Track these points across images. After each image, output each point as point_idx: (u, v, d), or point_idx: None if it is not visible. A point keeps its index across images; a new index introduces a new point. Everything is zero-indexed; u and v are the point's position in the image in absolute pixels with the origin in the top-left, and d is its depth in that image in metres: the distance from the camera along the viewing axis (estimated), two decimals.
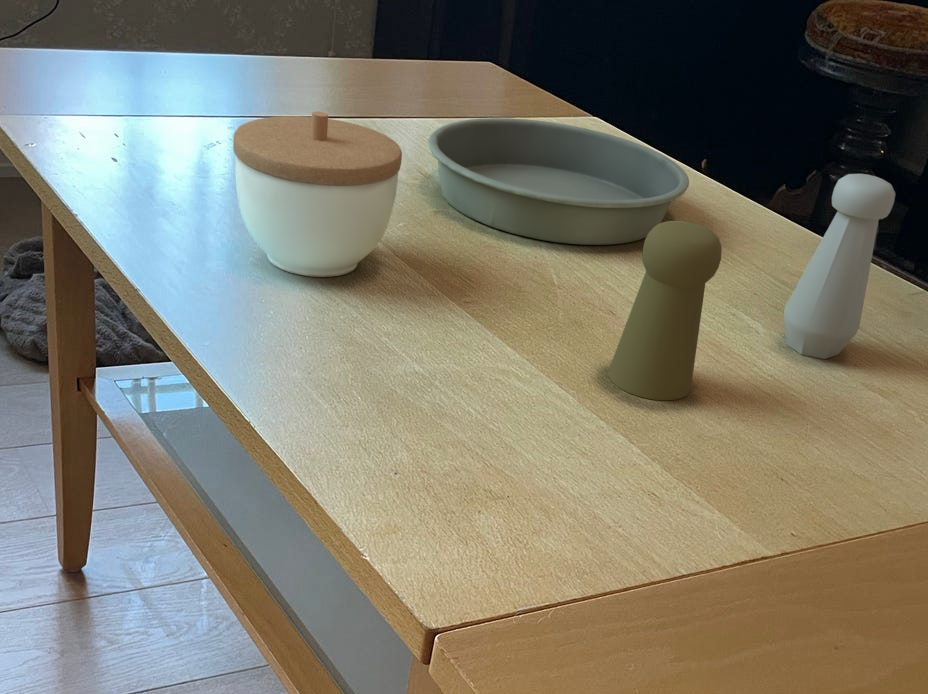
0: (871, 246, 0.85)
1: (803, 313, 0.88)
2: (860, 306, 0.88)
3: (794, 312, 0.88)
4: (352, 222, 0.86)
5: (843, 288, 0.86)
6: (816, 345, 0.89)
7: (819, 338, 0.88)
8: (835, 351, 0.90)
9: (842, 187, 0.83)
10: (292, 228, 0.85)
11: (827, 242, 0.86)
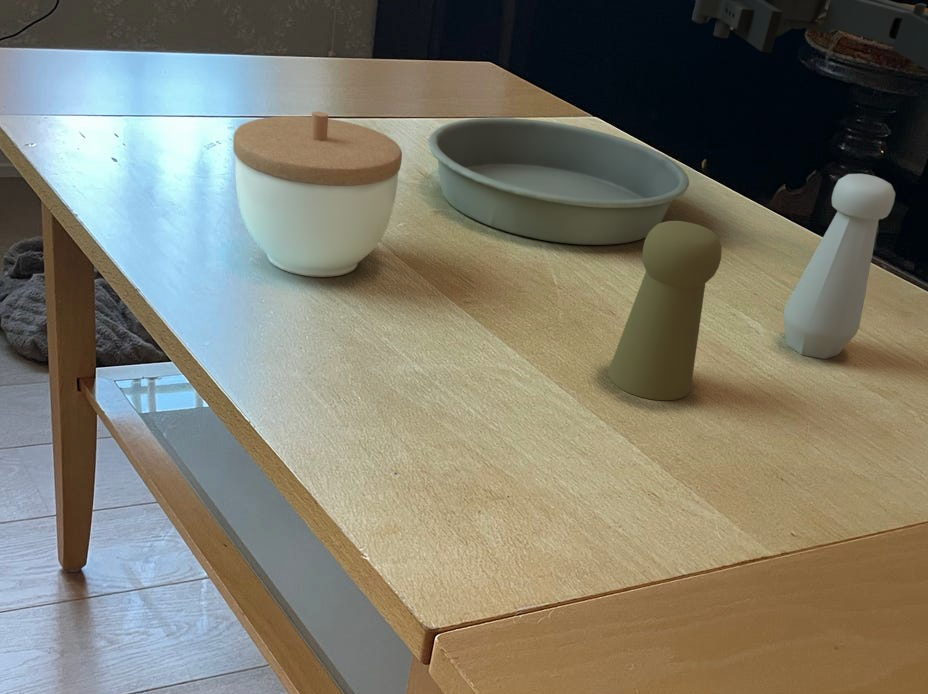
0: (871, 246, 0.85)
1: (803, 313, 0.88)
2: (860, 306, 0.88)
3: (794, 312, 0.88)
4: (352, 222, 0.86)
5: (843, 288, 0.86)
6: (816, 345, 0.89)
7: (819, 338, 0.88)
8: (835, 351, 0.90)
9: (842, 187, 0.83)
10: (292, 228, 0.85)
11: (827, 242, 0.86)
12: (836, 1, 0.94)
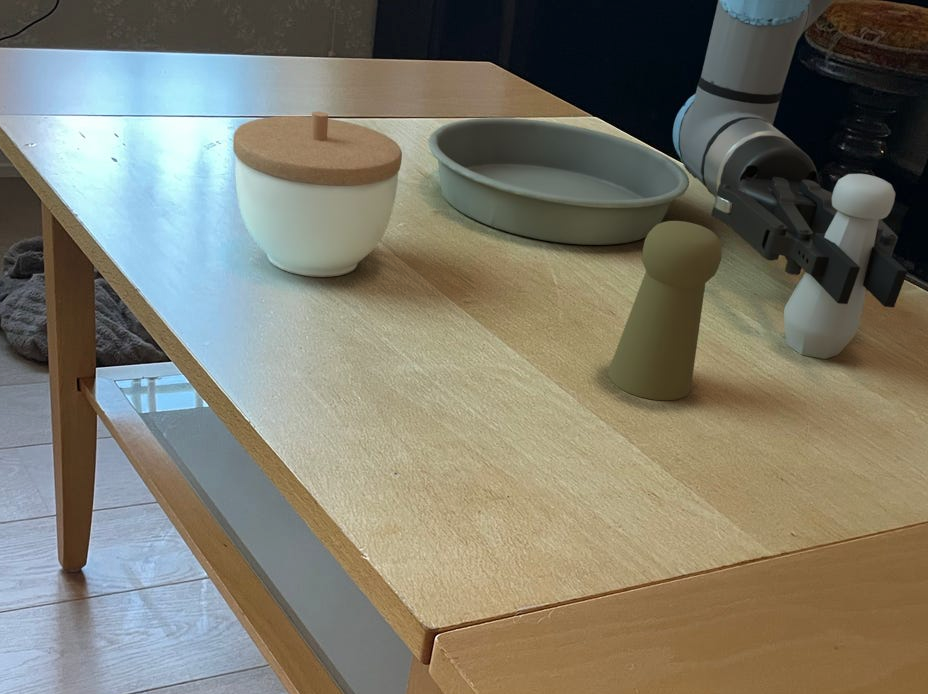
0: (871, 246, 0.85)
1: (803, 313, 0.88)
2: (860, 306, 0.88)
3: (794, 312, 0.88)
4: (352, 222, 0.86)
5: None
6: (816, 345, 0.89)
7: (819, 338, 0.88)
8: (835, 351, 0.90)
9: (842, 187, 0.83)
10: (292, 228, 0.85)
11: None
12: (819, 212, 0.93)
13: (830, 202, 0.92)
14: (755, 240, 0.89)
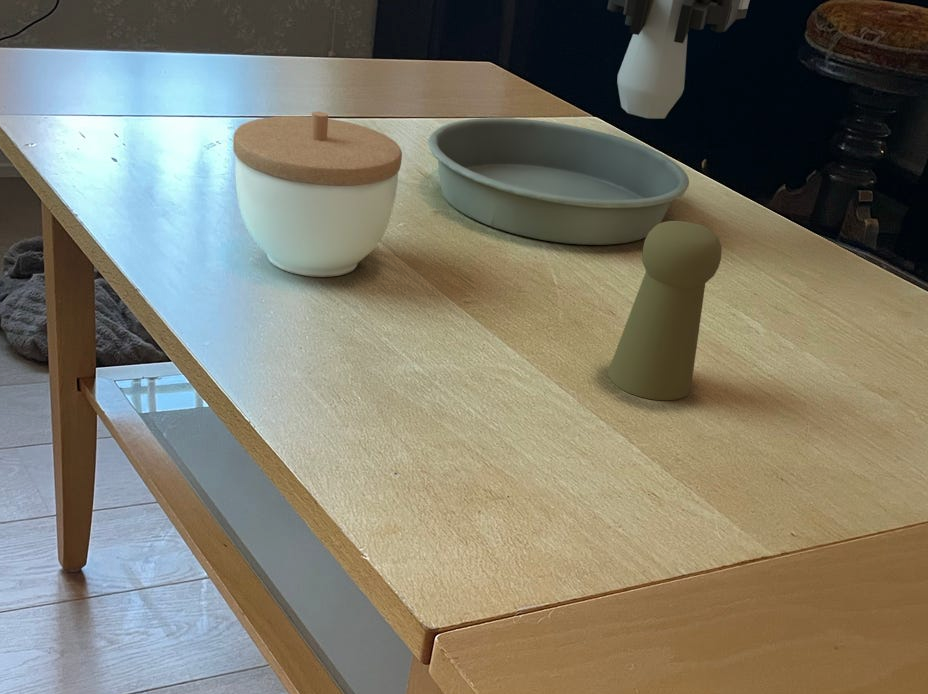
0: None
1: (626, 70, 0.99)
2: (677, 67, 0.98)
3: (621, 71, 1.00)
4: (352, 222, 0.86)
5: (656, 45, 0.97)
6: (637, 101, 0.99)
7: (637, 94, 0.99)
8: (658, 112, 1.00)
9: None
10: (292, 228, 0.85)
11: None
12: None
13: None
14: None
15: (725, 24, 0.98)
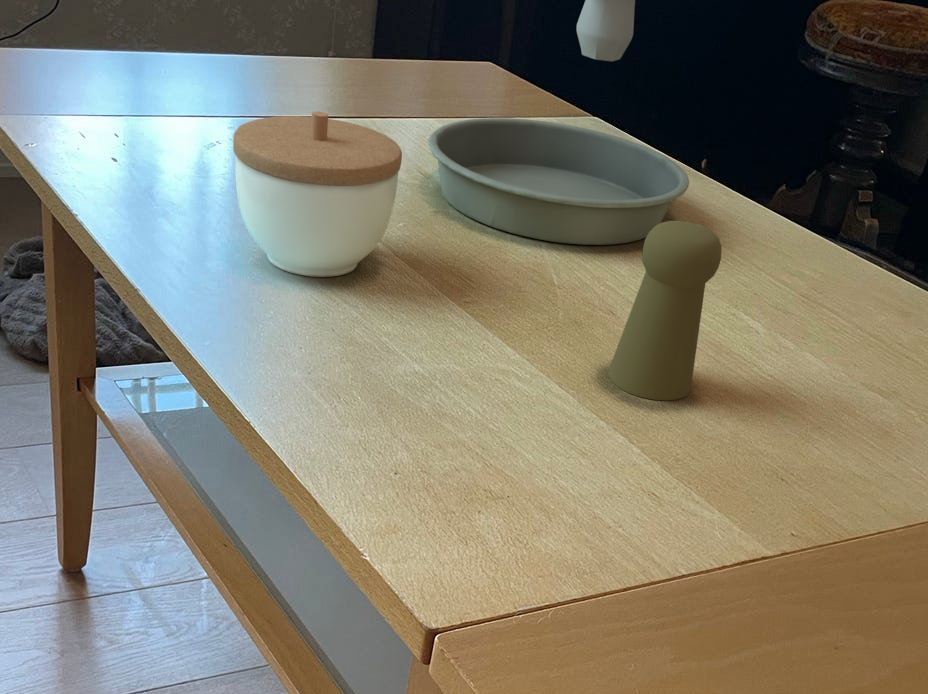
0: None
1: (580, 17, 1.17)
2: (619, 16, 1.15)
3: (579, 18, 1.18)
4: (352, 222, 0.86)
5: None
6: (586, 44, 1.18)
7: (585, 37, 1.17)
8: (604, 54, 1.18)
9: None
10: (292, 228, 0.85)
11: None
12: None
13: None
14: None
15: None
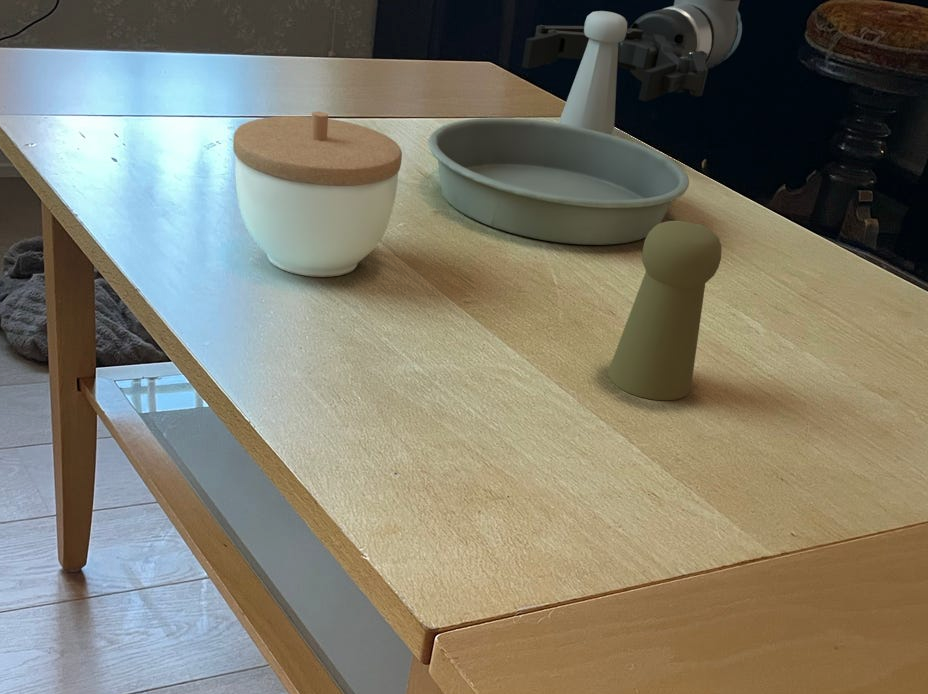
0: (607, 65, 1.19)
1: (563, 112, 1.23)
2: (601, 112, 1.21)
3: (562, 112, 1.24)
4: (352, 222, 0.86)
5: (583, 93, 1.20)
6: None
7: None
8: None
9: (587, 16, 1.18)
10: (292, 228, 0.85)
11: (582, 59, 1.20)
12: (659, 54, 1.25)
13: (667, 47, 1.24)
14: None
15: (702, 90, 1.21)
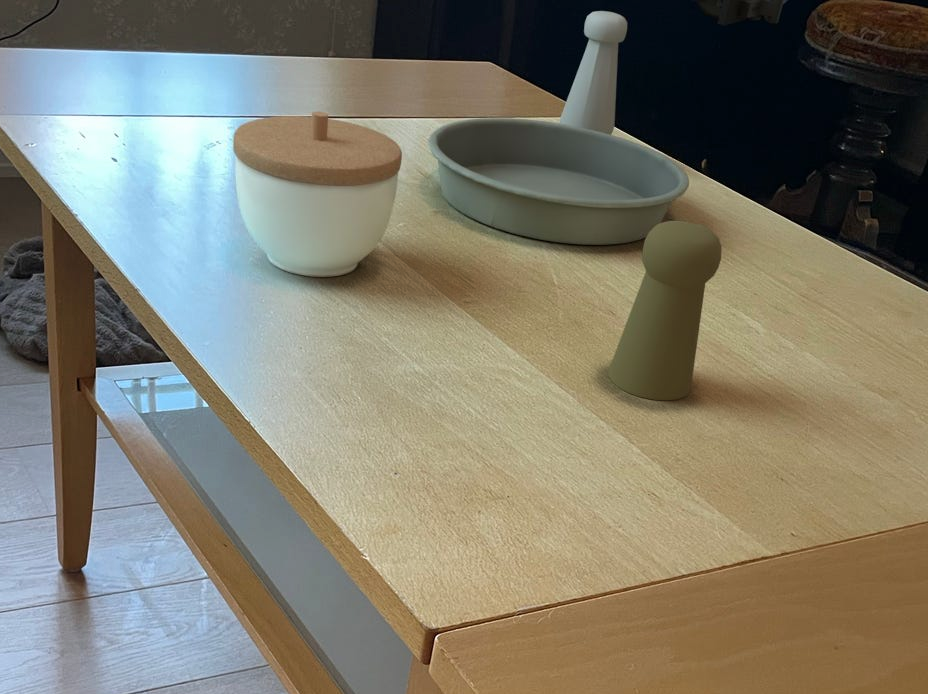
0: (607, 65, 1.19)
1: (563, 112, 1.23)
2: (601, 112, 1.21)
3: (562, 112, 1.24)
4: (352, 222, 0.86)
5: (583, 93, 1.20)
6: None
7: None
8: None
9: (587, 16, 1.18)
10: (292, 228, 0.85)
11: (582, 59, 1.20)
12: None
13: None
14: None
15: (778, 16, 1.21)
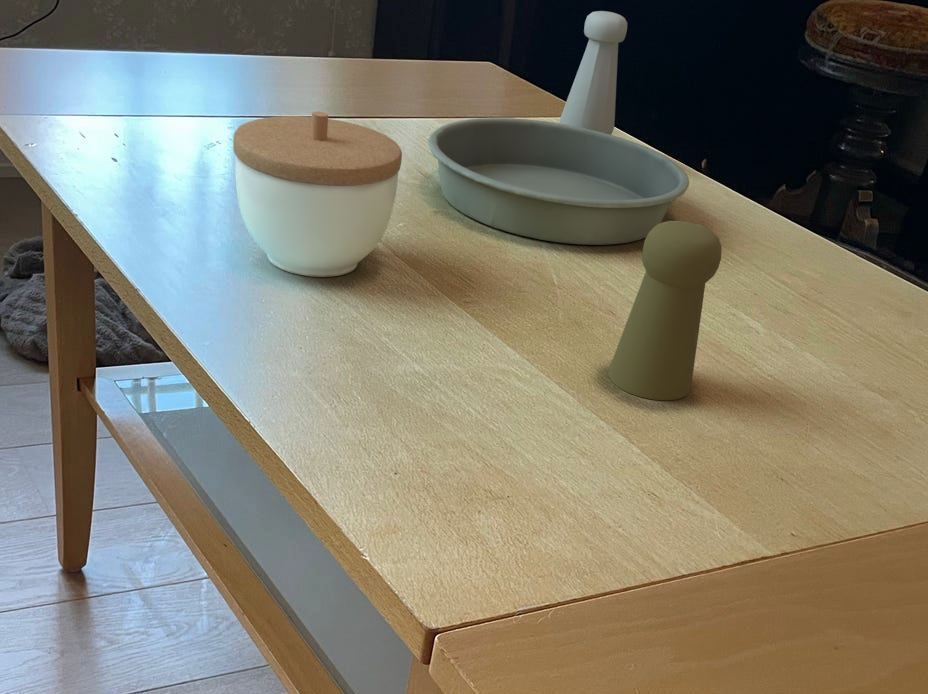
0: (607, 65, 1.19)
1: (563, 112, 1.23)
2: (601, 112, 1.21)
3: (562, 112, 1.24)
4: (352, 222, 0.86)
5: (583, 93, 1.20)
6: None
7: None
8: None
9: (587, 16, 1.18)
10: (292, 228, 0.85)
11: (582, 59, 1.20)
12: None
13: None
14: None
15: None
